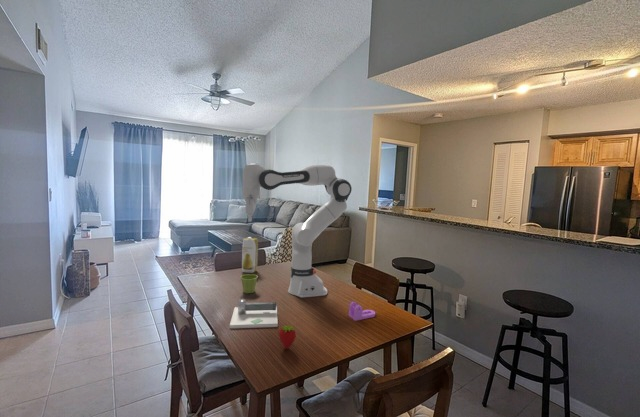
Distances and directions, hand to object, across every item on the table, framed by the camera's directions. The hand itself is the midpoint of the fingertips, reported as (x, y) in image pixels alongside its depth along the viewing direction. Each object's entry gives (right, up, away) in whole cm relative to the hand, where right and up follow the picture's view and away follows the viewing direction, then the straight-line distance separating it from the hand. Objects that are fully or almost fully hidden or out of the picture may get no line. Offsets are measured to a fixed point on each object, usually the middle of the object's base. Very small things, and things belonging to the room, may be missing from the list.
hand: (250, 220), depth 159 cm
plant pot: (-3, -41, +9) cm, 42 cm away
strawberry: (+24, -47, -46) cm, 70 cm away
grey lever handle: (+8, -42, -20) cm, 47 cm away
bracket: (+58, -46, -15) cm, 75 cm away
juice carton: (-11, -37, +46) cm, 60 cm away
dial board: (+7, -44, -22) cm, 49 cm away
